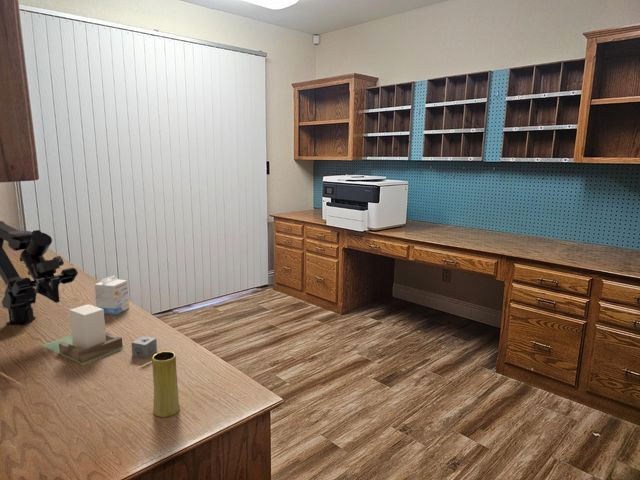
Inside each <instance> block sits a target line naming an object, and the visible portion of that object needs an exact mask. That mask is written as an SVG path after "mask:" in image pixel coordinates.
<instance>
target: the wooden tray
mask: <svg viewBox="0 0 640 480" xmlns="http://www.w3.org/2000/svg"><path fill="white" fill-rule="evenodd" d="M105 333H106V342H104V343H101V344H99V345H96V346H93V347H91V348H88V349H86V350H82V349H80V348H78V347H75V346H73V345H71V344H68V343H66V342H61V343H59V351H60V353H62V354H64V355H66V356H69V357H71V358H73V359H75V360H77V361H80V362H82V363H84V362H86V361H89V360H91V359H93V358H96V357H98V356H101V355H103V354H106V353H108V352H111V351H113V350H115V349H118V348H120V347H123V346H124V345H123V337H121V336H119V335H116V334H114V333H111V332H108V331H105Z"/></svg>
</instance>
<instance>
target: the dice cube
mask: <svg viewBox="0 0 640 480" xmlns="http://www.w3.org/2000/svg"><path fill="white" fill-rule="evenodd" d="M157 345H158V342H157V338H156V337H150V336H146V335H142V336H140V337H138V338H137V339H135V340H133V341H131V356H132V357H135V358H141V359H145V360H146V359H148V358H149V357H151V356H153V355H155V354H156V353H158V346H157Z"/></svg>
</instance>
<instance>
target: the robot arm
mask: <svg viewBox="0 0 640 480" xmlns="http://www.w3.org/2000/svg"><path fill="white" fill-rule="evenodd" d="M4 241H6V242H7V246H8V247H9V248H10V249H11V250H13V251H14V252H18V251H22V252H20V257H19V262H23V264H24V266H25V267H26V268H27V275H28V276H31V278H32V280H31V278H29V277H21V276H20V274H19V272H18V271H17V270H16V268H15V266H14V264H13V263H12V260H10V258H9V256H8V254H7V252H6V251H5V249H4V247H3V246H4ZM52 242H53V239H52V237H51V236H50V235H49V234H47V233H45V232H41V230H40V229H38V230H37V229H36V230H33V231H31V230H19V229H16V228H14V227H12V226H11V225H8V224H7V223H5V222H4V221H2V220H0V277H1V279H2V281H3V282H4V285H5V289H4V296H3V298H2V301H1V304H2V307H3V308H4V309H7V311H8V317H9V321H7V322H6V325H17V326H18V325H22V326H23V325H26V324H28V323H29V322H31V321H33V320H35V319H36V318H37V317H36V316H34V308H33V307H32V304H35V303H36V300H37V294H40V295H41V296H43V297H45V298H47V299H48V300H50V301H52V302H53V303H55V304H58V303H60V293H59V292H60V291H59V287H60V284H63V285H65V284H69V283H72V282H74V280H75V279H76V277H77V276H78V274H79V272H78V269H76V268H74V267H68V268H64V269H62V270H61V272H60V274H56V273H57V270H58V269H60V267H62V266H63V265H64V264H65V263H64V260H63V258H62V256H61V255H57V256H54V257H53V258H52V259H45V256H44V255H45V254H46V253H48V250H49V248H50V246H51V244H52ZM55 274H56V275H55Z"/></svg>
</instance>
